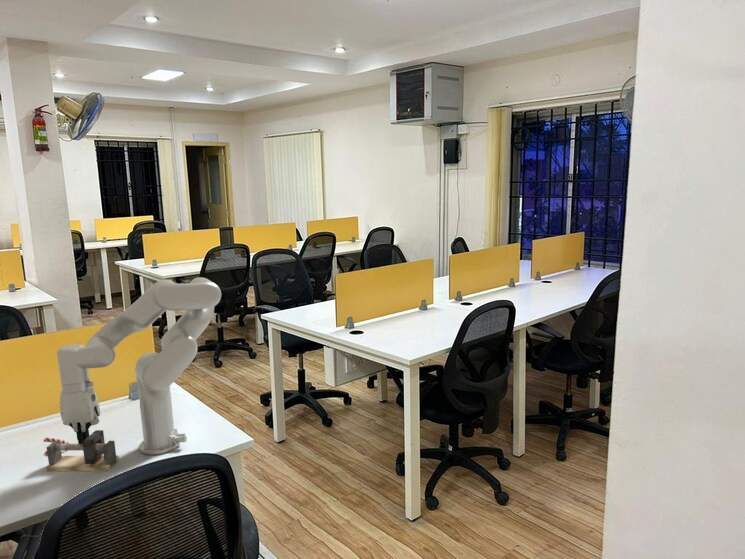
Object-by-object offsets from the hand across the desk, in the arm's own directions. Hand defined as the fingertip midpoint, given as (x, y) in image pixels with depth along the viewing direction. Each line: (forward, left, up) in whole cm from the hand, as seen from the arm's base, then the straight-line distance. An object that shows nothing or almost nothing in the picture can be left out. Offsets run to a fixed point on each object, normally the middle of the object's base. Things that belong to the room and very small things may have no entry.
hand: (83, 442), depth 167 cm
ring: (-3, 0, -5) cm, 6 cm away
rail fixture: (+1, 0, -8) cm, 8 cm away
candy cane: (+18, -12, -8) cm, 23 cm away
